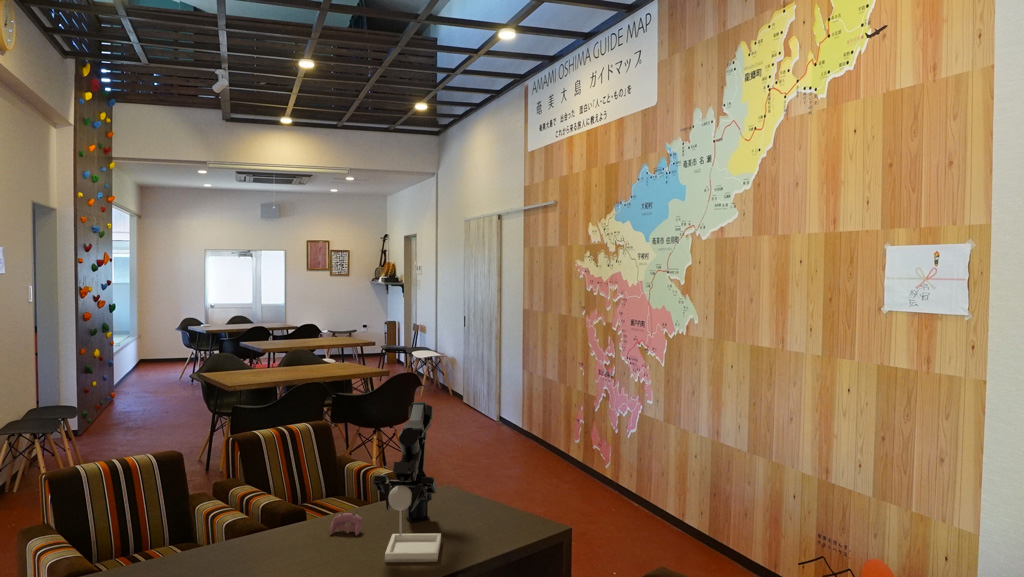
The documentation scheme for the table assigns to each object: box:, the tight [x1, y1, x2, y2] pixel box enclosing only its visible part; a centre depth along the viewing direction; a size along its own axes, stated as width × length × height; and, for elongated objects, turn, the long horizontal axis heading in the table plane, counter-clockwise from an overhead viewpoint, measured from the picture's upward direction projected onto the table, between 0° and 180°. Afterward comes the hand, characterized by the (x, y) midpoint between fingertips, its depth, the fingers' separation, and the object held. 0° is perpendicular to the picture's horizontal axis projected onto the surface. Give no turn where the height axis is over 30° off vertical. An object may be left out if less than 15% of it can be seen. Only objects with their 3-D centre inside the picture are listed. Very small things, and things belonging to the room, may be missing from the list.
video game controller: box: [329, 512, 363, 536], centre depth 216 cm, size 10×5×7 cm, turn 85°
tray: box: [384, 532, 442, 563], centre depth 200 cm, size 15×15×2 cm
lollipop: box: [388, 485, 413, 536], centre depth 199 cm, size 7×7×15 cm
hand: (399, 510), depth 198 cm, fingers closed on lollipop, 7 cm apart
